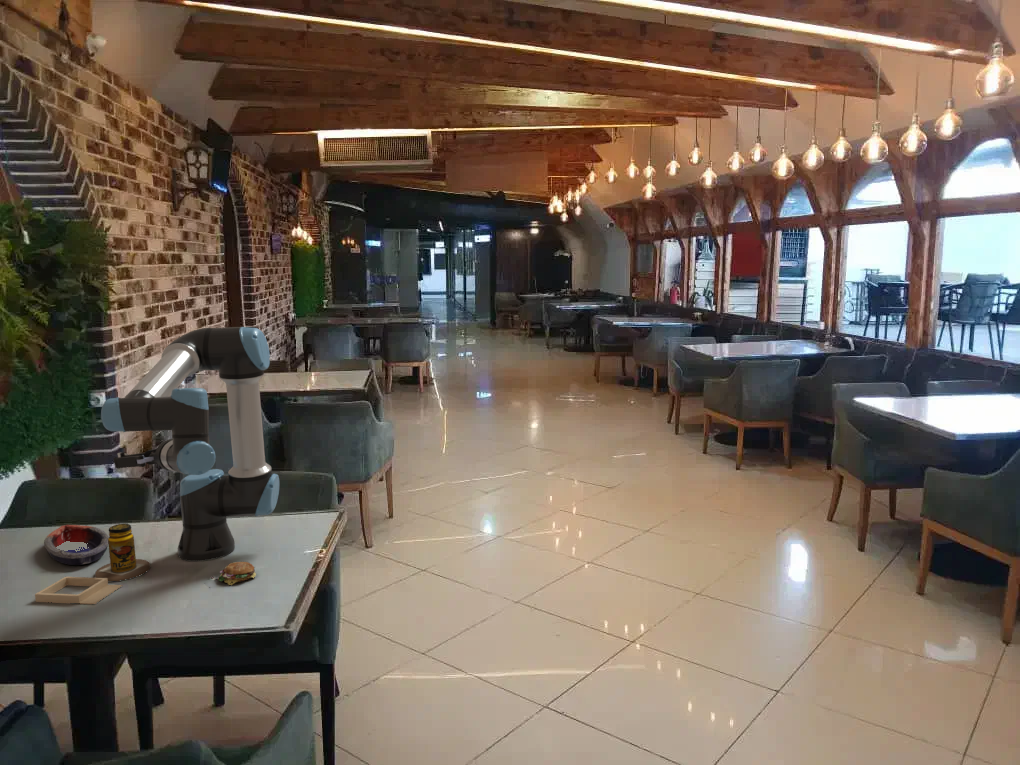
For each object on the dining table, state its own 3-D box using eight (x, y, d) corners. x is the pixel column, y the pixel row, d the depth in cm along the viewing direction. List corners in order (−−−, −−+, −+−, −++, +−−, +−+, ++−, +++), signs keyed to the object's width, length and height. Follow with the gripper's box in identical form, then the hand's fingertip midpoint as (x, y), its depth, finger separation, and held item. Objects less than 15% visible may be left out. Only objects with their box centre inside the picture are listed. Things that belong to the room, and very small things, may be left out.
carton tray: (122, 586, 188) (121, 578, 187) (94, 604, 177) (94, 596, 177) (66, 583, 189) (65, 576, 189) (35, 601, 179) (34, 594, 179)
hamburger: (243, 565, 202) (242, 544, 201) (268, 579, 192) (267, 557, 191) (192, 580, 192) (191, 558, 191) (216, 596, 182) (214, 573, 181)
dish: (53, 576, 195) (52, 558, 194) (39, 543, 219) (38, 527, 218) (118, 561, 205) (116, 544, 204) (98, 532, 228) (96, 516, 228)
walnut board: (160, 563, 202) (159, 559, 202) (130, 582, 190) (130, 579, 189) (116, 561, 204) (116, 558, 204) (84, 580, 191) (83, 577, 191)
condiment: (122, 575, 192) (118, 532, 190) (98, 571, 195) (94, 528, 193) (144, 565, 198) (141, 523, 197) (121, 561, 201) (117, 519, 200)
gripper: (123, 486, 164) (98, 478, 179) (231, 457, 180) (200, 452, 196) (115, 453, 163) (91, 449, 178) (225, 427, 179) (194, 425, 195)
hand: (148, 451), depth 187 cm, fingers open, 13 cm apart
